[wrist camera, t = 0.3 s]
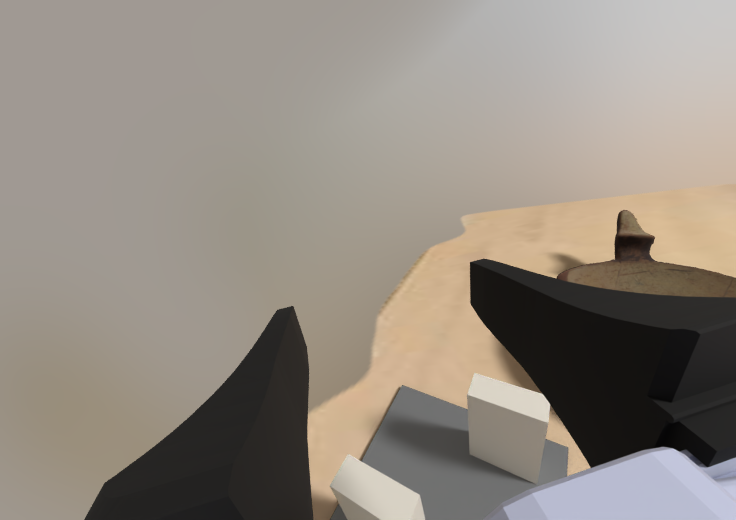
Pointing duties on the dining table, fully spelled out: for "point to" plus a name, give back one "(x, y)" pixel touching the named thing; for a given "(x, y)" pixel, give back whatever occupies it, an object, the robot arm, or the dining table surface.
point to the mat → (446, 460)
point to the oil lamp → (647, 269)
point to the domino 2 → (507, 426)
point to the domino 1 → (373, 494)
